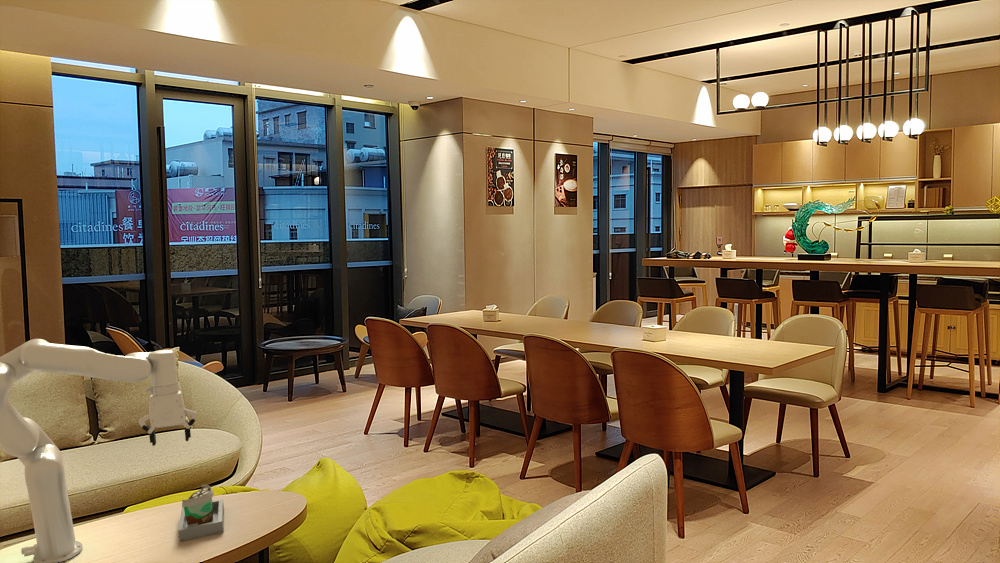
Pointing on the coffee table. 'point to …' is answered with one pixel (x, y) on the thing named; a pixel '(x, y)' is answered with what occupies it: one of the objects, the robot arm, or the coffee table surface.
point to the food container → (199, 507)
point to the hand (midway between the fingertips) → (171, 442)
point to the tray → (206, 528)
